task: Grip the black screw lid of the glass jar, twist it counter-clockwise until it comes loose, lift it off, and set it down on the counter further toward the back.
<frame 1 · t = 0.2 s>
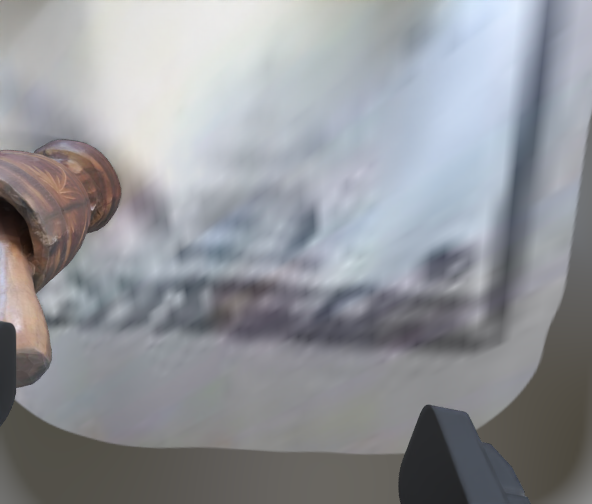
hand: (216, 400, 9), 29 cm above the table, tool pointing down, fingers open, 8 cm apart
mortar and pestle: (97, 192, 38), on the table
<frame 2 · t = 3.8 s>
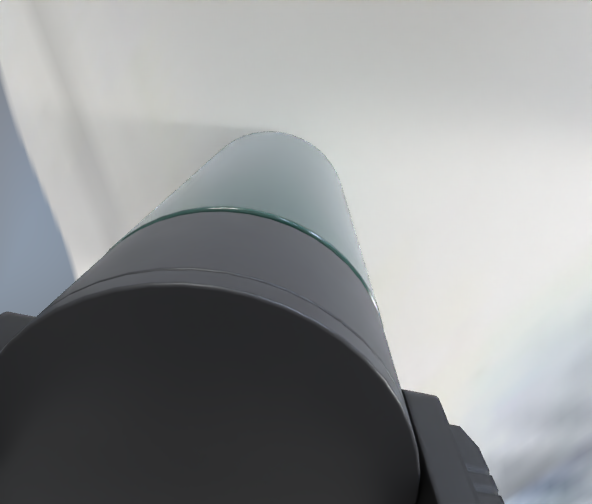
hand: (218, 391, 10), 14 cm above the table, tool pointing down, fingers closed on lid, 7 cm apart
lid: (200, 463, 8), point 16 cm above the table, screwed on, not yet turned, touching gripper
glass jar: (271, 205, 23), on the table
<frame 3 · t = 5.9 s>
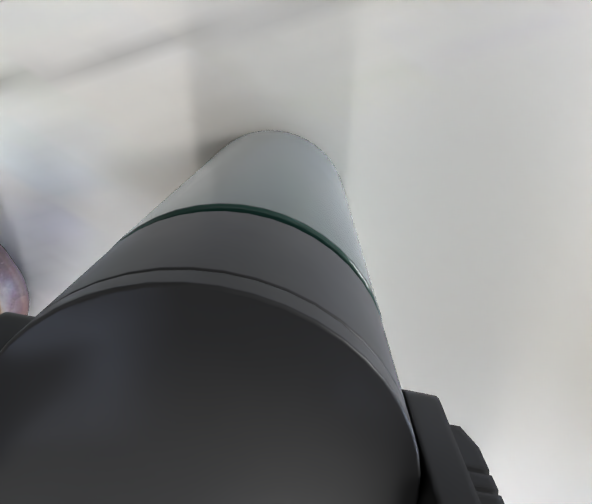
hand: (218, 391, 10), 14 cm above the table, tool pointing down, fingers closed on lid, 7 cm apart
lid: (200, 463, 8), point 16 cm above the table, turned 86° so far, risen 0.2 cm, still on its thread, touching gripper
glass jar: (272, 204, 23), on the table
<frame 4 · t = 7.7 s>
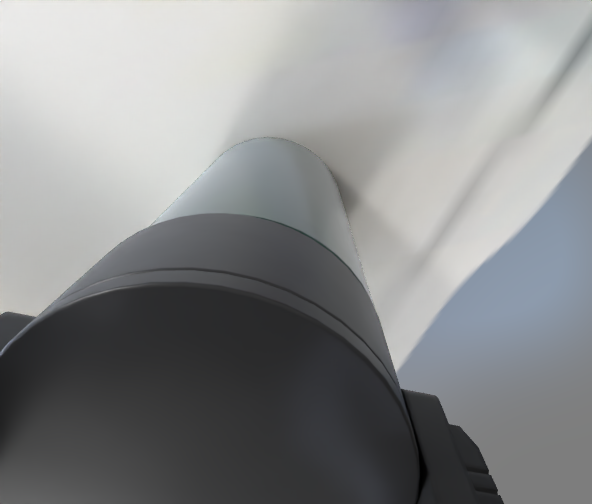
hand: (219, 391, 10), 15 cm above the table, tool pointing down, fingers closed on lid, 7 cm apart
lid: (200, 464, 8), point 17 cm above the table, off its thread, touching gripper, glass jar
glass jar: (269, 209, 23), on the table, touching lid
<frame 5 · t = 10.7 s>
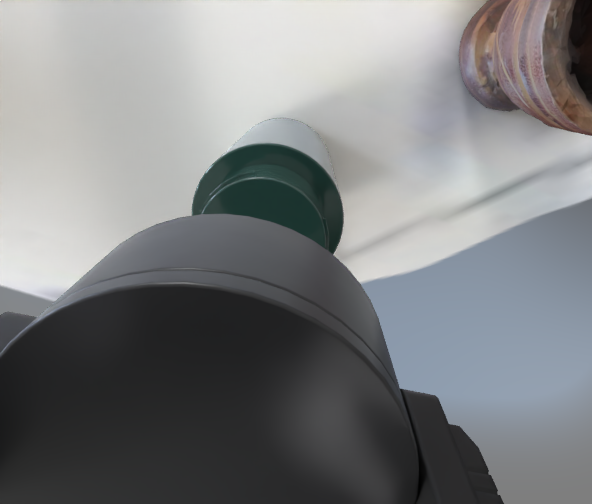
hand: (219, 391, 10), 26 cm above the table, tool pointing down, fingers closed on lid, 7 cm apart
mortar and pestle: (514, 23, 30), on the table
lid: (200, 464, 8), point 28 cm above the table, off its thread, touching gripper
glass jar: (282, 168, 34), on the table
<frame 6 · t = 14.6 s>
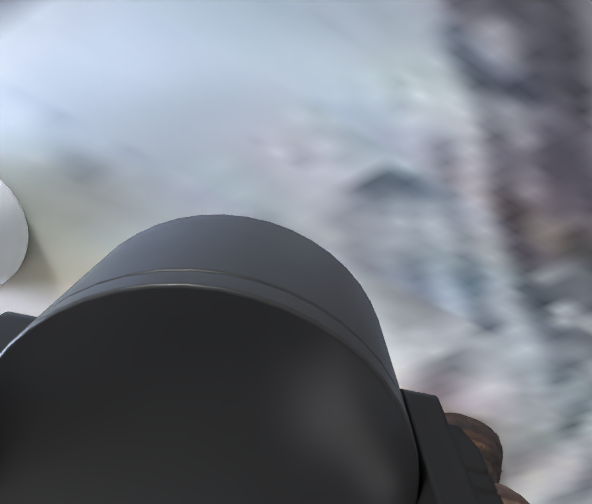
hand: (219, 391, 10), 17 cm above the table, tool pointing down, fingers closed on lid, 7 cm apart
mortar and pestle: (440, 433, 31), on the table
lid: (199, 465, 8), point 19 cm above the table, off its thread, touching gripper
when the fingers open (1 cm above the table, at t = 18.0 s): lid stays where it is, point 3 cm above the table.
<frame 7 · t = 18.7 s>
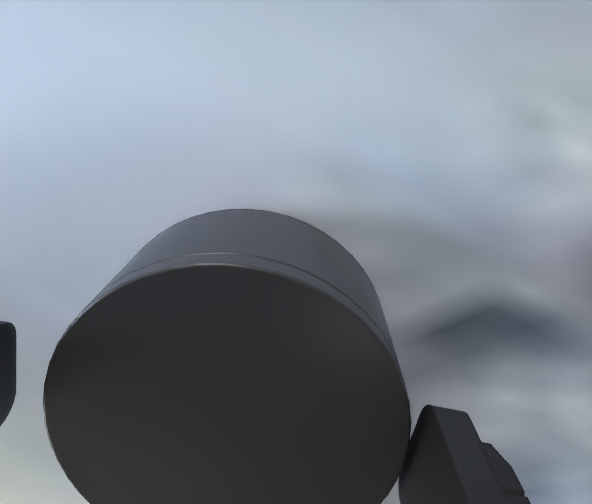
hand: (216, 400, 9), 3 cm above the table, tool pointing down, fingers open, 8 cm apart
lid: (230, 416, 9), point 3 cm above the table, off its thread
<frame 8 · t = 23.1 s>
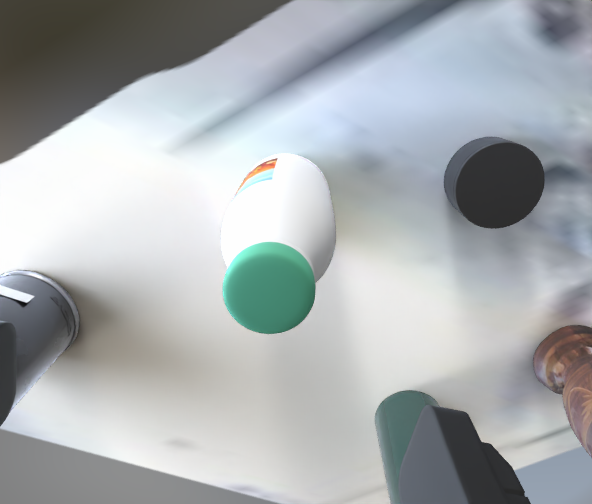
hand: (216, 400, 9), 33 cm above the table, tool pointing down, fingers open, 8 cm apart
milk bottle: (286, 195, 42), on the table
mortar and pestle: (570, 341, 46), on the table
lid: (497, 185, 38), point 3 cm above the table, off its thread
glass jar: (408, 417, 50), on the table
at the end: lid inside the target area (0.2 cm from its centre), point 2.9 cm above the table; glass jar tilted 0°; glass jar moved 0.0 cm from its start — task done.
